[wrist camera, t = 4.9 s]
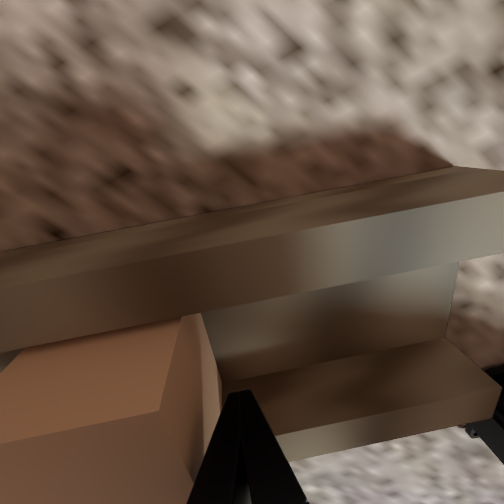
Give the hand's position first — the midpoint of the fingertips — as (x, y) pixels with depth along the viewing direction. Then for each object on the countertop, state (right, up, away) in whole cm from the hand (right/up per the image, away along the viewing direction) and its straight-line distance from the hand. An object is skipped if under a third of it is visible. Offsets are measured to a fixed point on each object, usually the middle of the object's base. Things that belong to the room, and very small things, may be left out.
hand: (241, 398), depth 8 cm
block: (-4, +1, +3) cm, 5 cm away
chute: (-1, +2, +4) cm, 5 cm away
